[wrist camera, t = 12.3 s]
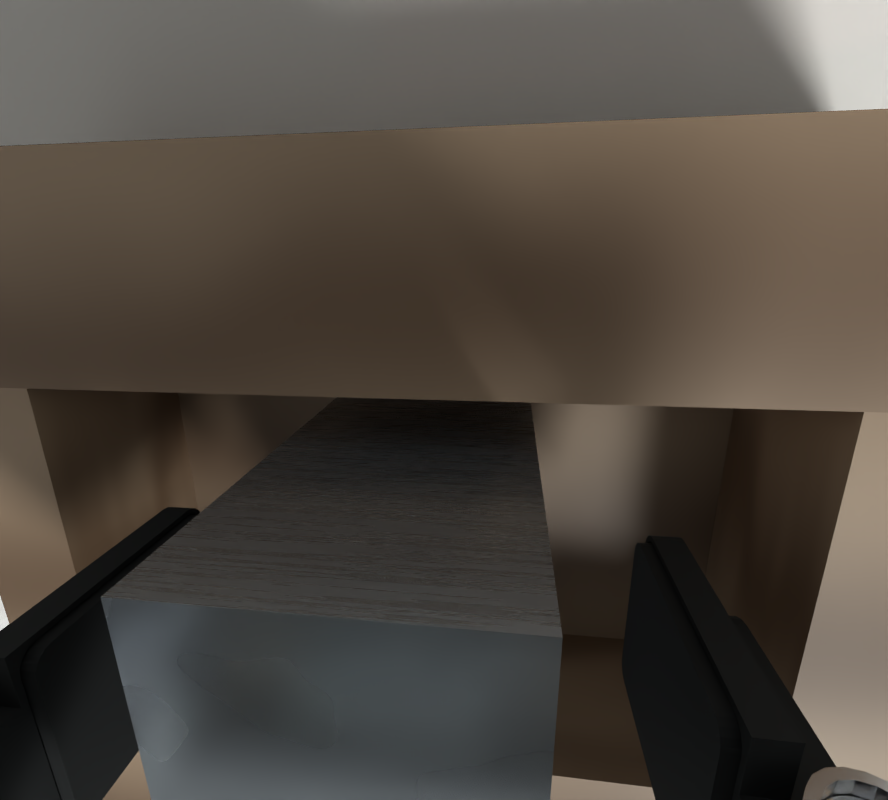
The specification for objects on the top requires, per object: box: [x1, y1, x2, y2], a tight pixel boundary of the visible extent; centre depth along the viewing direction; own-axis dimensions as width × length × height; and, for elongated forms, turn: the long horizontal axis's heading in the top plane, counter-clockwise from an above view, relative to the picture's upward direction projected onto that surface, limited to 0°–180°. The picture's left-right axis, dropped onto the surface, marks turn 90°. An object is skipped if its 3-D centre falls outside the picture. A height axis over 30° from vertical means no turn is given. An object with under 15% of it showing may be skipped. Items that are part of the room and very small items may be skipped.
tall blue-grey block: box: [101, 397, 563, 800], centre depth 9 cm, size 6×4×8 cm
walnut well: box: [0, 109, 888, 800], centre depth 12 cm, size 16×18×5 cm
